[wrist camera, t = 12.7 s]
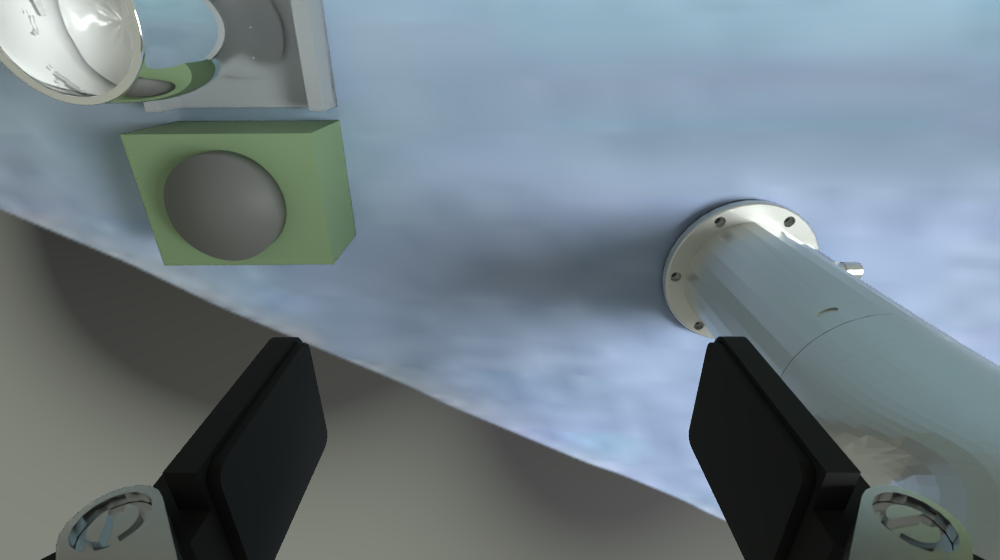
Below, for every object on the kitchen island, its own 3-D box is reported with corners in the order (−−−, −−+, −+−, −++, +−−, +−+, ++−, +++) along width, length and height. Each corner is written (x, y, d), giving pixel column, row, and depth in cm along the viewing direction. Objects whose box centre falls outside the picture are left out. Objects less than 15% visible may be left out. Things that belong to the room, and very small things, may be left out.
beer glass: (209, 91, 34) (20, 120, 21) (168, -23, 31) (-86, -77, 18) (305, 78, 34) (176, 99, 20) (272, -39, 31) (95, -106, 17)
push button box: (307, -98, 30) (251, -141, 23) (355, 234, 39) (326, 273, 33) (114, -97, 30) (0, -140, 23) (210, 235, 39) (149, 274, 33)
